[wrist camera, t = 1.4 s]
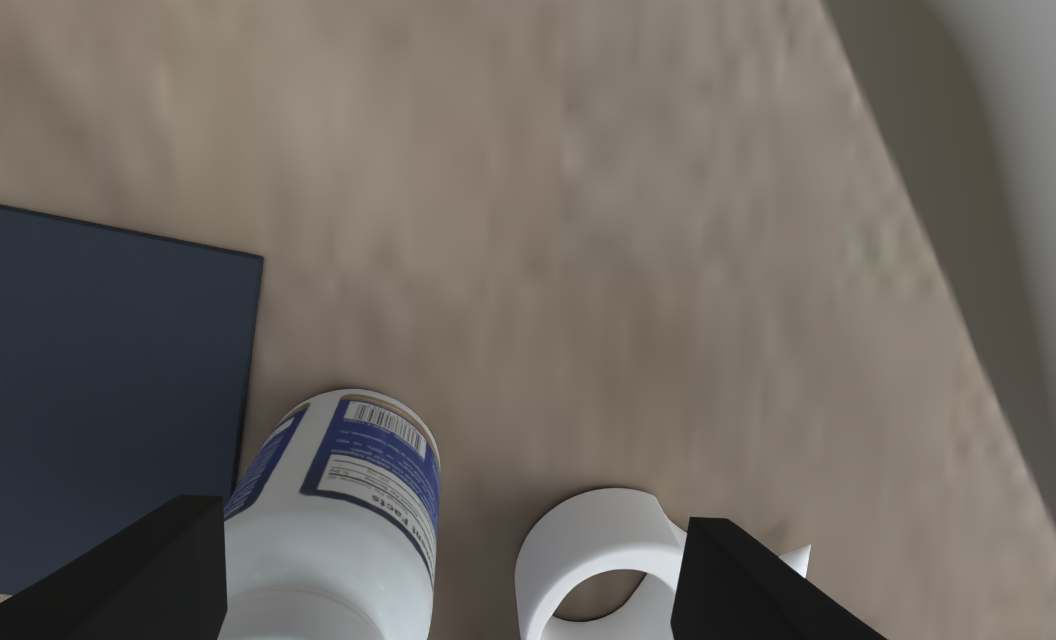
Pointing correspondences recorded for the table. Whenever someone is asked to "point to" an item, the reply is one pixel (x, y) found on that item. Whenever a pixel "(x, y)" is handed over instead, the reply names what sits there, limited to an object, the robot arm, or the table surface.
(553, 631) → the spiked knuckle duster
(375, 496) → the pill bottle
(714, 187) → the table surface
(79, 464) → the mat
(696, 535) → the robot arm
